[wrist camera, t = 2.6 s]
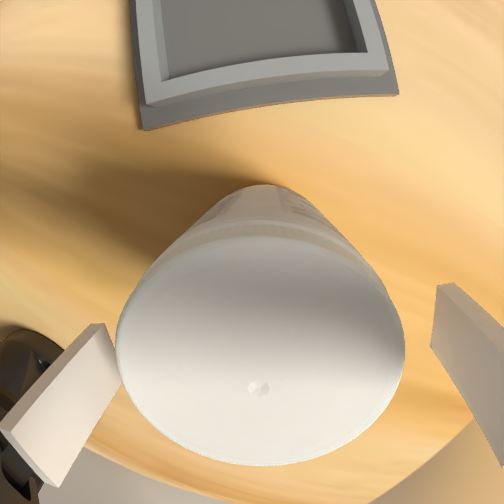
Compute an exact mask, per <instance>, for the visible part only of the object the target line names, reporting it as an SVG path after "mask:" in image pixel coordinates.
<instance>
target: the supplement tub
mask: <svg viewBox="0 0 504 504" xmlns="http://www.w3.org/2000/svg"><path fill="white" fill-rule="evenodd" d="M115 355H116V362H117V368H118V371H119V375H120V378H121V381H122V383H123V385H124V388H125V390H126V392H127V394H128V396H129V397H130V399H131V400H132V402H133V404H134V405H135V406H136V408H137V409H138V410H139V412H140V413H141V414H142V415H143V416H144V417H145V418H146V419H147V420H148V421H149V422H150V423H151V424H152V425H153V426H154V427H155V428H156V429H157V430H158V431H160V432H161V433H162V434H164V435H165V436H166V437H168V438H169V439H171V440H172V441H174V442H176V443H177V444H179V445H180V446H182V447H184V448H186V449H188V450H190V451H193V452H195V453H198V454H200V455H203V456H205V457H208V458H211V459H215V460H219V461H223V462H227V463H232V464H239V465H249V466H275V465H284V464H292V463H297V462H301V461H305V460H309V459H312V458H316V457H318V456H321V455H324V454H326V453H329V452H331V451H333V450H335V449H337V448H339V447H341V446H343V445H345V444H346V443H348V442H349V441H351V440H353V439H354V438H356V437H357V436H358V435H359V434H361V433H362V432H363V431H364V430H366V429H367V428H368V427H369V426H370V425H371V424H372V423H373V422H374V421H375V420H376V419H377V418H378V417H379V416H380V414H381V413H382V412H383V411H384V410H385V408H386V407H387V405H388V404H389V402H390V400H391V399H392V397H393V395H394V393H395V391H396V389H397V387H398V384H399V381H400V378H401V375H402V371H403V367H404V360H405V339H404V332H403V328H402V324H401V320H400V318H399V315H398V313H397V311H396V308H395V306H394V305H393V303H392V301H391V299H390V297H389V295H388V293H387V290H386V288H385V286H384V284H383V283H382V281H381V279H380V278H379V276H378V275H377V274H376V272H375V271H374V270H373V268H372V267H371V266H370V265H369V264H368V262H367V261H366V260H365V259H364V258H363V257H362V256H361V255H360V253H359V252H358V251H357V250H356V249H355V248H354V247H353V245H352V244H351V243H350V242H349V241H348V240H347V239H346V238H345V237H344V236H343V235H342V234H341V233H340V232H339V231H338V230H337V229H336V228H335V227H334V226H333V225H332V224H331V223H330V221H329V220H328V219H327V218H326V217H325V216H324V215H323V214H322V213H321V212H320V211H319V210H318V209H317V208H316V207H315V206H314V205H313V204H312V203H311V202H309V201H308V200H307V199H306V198H304V197H303V196H301V195H300V194H298V193H296V192H295V191H292V190H290V189H287V188H284V187H280V186H275V185H267V184H266V185H253V186H249V187H245V188H242V189H239V190H237V191H234V192H232V193H231V194H229V195H227V196H225V197H224V198H223V199H221V200H220V201H219V202H217V203H216V204H215V205H214V206H213V207H212V208H211V209H209V210H208V211H207V212H206V213H205V214H204V215H203V216H202V217H201V218H199V219H198V220H197V221H196V222H195V223H194V224H193V225H192V226H191V227H190V228H189V229H187V230H186V231H185V232H184V233H183V234H182V235H181V236H180V237H179V238H177V239H176V240H175V241H174V242H173V243H172V244H171V245H170V246H169V247H168V248H167V249H166V250H165V251H164V252H163V253H162V254H161V255H160V256H159V257H158V258H157V259H156V260H155V261H154V262H153V264H152V265H151V266H150V267H149V268H148V269H147V271H146V272H145V273H144V275H143V276H142V278H141V280H140V281H139V283H138V285H137V287H136V288H135V290H134V291H133V292H132V294H131V295H130V297H129V299H128V300H127V302H126V304H125V306H124V308H123V311H122V313H121V315H120V318H119V322H118V325H117V330H116V338H115Z"/></svg>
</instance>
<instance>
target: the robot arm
mask: <svg viewBox="0 0 504 504" xmlns="http://www.w3.org/2000/svg"><path fill="white" fill-rule="evenodd" d="M430 347H431V348H432V350H433V351H434V353H435V354H436V356H437V357H438V359H439V360H440V362H441V363H442V365H443V366H444V368H445V370H446V371H447V373H448V374H449V376H450V377H451V379H452V381H453V382H454V384H455V385H456V387H457V389H458V390H459V392H460V393H461V395H462V397H463V398H464V400H465V402H466V403H467V405H468V407H469V408H470V410H471V412H472V413H473V415H474V417H475V419H476V420H477V422H478V424H479V426H480V427H481V429H482V431H483V433H484V435H485V437H486V438H487V440H488V442H489V444H490V446H491V448H492V450H493V451H494V453H495V455H496V457H497V459H498V461H499V463H500V465H501V467H502V468H503V467H504V328H503V327H502V326H501V325H500V324H499V323H498V322H497V321H496V320H495V319H494V318H493V317H492V316H491V315H490V314H488V313H487V312H486V311H485V310H484V309H483V308H482V307H481V306H480V305H479V304H478V303H476V302H475V301H474V300H473V299H472V298H471V297H470V296H469V295H467V294H466V293H465V292H464V291H463V290H462V289H460V288H459V287H458V286H457V285H456V284H455V283H453V282H452V283H448V284H443V285H438V286H437V292H436V303H435V313H434V322H433V329H432V337H431V343H430ZM121 383H122V381H121V378H120V375H119V371H118V368H117V362H116V355H115V349H114V346H113V344H112V341H111V339H110V336H109V334H108V331H107V329H106V326H105V323H102V324H90V325H89V326H88V327H87V328H86V329H85V330H84V331H83V332H82V333H81V334H80V335H79V336H78V337H77V338H76V339H75V340H74V341H73V342H72V344H71V345H70V346H69V347H68V348H67V349H66V350H65V351H63V350H62V349H61V348H60V347H59V346H57V345H56V344H55V343H53V342H52V341H50V340H49V339H47V338H45V337H44V336H42V335H40V334H38V333H35V332H32V331H29V330H17V331H15V332H13V333H12V334H10V335H9V336H8V337H7V338H6V339H5V340H3V341H2V343H1V344H0V504H39V499H38V493H39V491H40V489H41V487H42V485H43V484H44V482H46V483H48V484H50V485H53V486H55V487H58V488H59V487H60V485H61V483H62V481H63V480H64V478H65V476H66V474H67V473H68V471H69V469H70V467H71V466H72V464H73V462H74V461H75V459H76V457H77V455H78V454H79V452H80V450H81V449H82V447H83V445H84V444H85V442H86V440H87V439H88V437H89V435H90V434H91V432H92V431H93V429H94V428H95V426H96V424H97V423H98V421H99V419H100V417H101V416H102V414H103V412H104V411H105V409H106V407H107V406H108V404H109V403H110V401H111V399H112V398H113V396H114V395H115V393H116V391H117V390H118V388H119V387H120V385H121Z"/></svg>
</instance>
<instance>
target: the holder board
mask: <svg viewBox="0 0 504 504" xmlns="http://www.w3.org/2000/svg"><path fill="white" fill-rule="evenodd" d="M129 3H130V20H131V34H132V46H133V57H134V66H135V75H136V84H137V92H138V100H139V107H140V114H141V121H142V128H143V130H144V131H150V130H154V129H158V128H162V127H165V126H169V125H173V124H177V123H182V122H186V121H190V120H194V119H199V118H203V117H208V116H213V115H218V114H223V113H228V112H234V111H239V110H245V109H251V108H257V107H264V106H271V105H278V104H286V103H294V102H303V101H313V100H324V99H337V98H353V97H380V96H396V95H399V89H398V84H397V79H396V75H395V70H394V66H393V62H392V58H391V54H390V50H389V46H388V42H387V39H386V35H385V31H384V28H383V25H382V21H381V18H380V15H379V12H378V9H377V6H376V3H375V0H129Z"/></svg>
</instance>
